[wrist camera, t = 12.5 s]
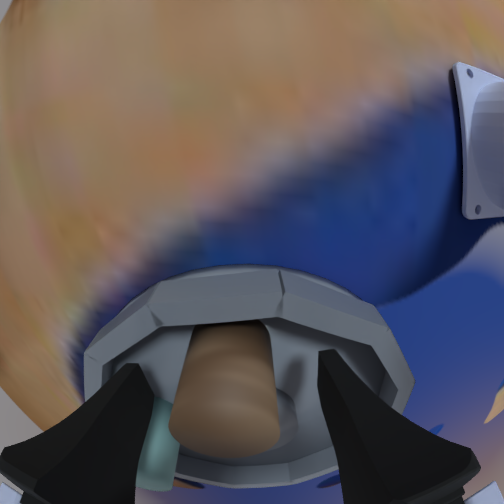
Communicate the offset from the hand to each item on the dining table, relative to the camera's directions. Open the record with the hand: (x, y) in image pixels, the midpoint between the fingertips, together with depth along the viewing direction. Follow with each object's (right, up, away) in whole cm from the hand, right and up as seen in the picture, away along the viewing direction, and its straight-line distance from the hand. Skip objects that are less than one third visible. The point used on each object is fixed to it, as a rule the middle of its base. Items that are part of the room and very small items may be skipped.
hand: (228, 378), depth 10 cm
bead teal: (-5, -5, +4) cm, 8 cm away
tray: (+1, -4, +5) cm, 6 cm away
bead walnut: (0, +1, +2) cm, 2 cm away
